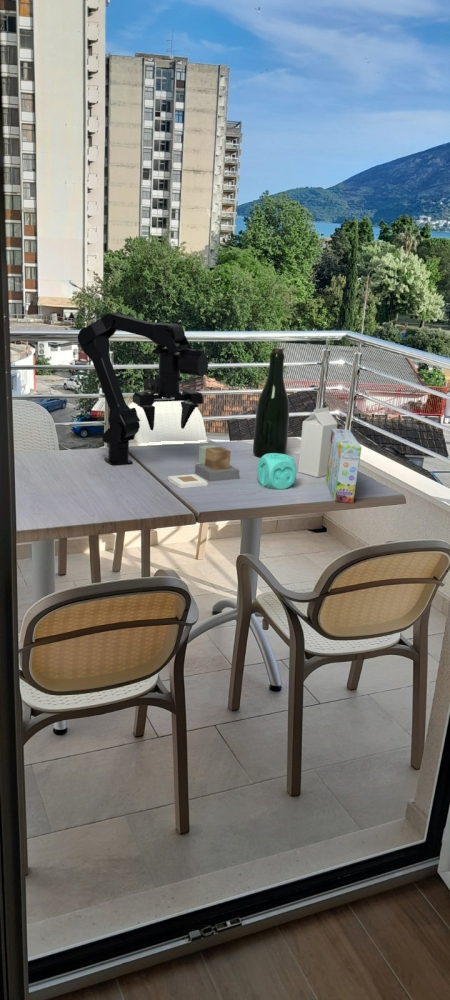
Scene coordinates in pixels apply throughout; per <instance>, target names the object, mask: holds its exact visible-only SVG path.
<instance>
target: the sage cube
mask: <svg viewBox="0 0 450 1000" xmlns="http://www.w3.org/2000/svg"><path fill="white" fill-rule="evenodd" d="M213 447H218V446H217V445H215V444H212V445H200V446H198V464H205V456H206V448H213Z"/></svg>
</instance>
